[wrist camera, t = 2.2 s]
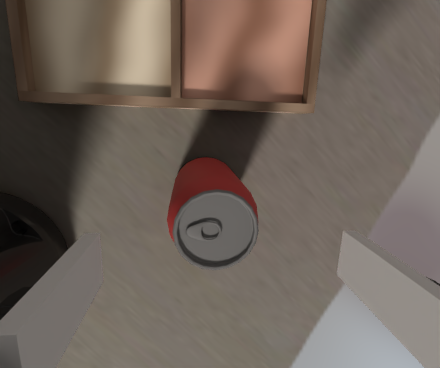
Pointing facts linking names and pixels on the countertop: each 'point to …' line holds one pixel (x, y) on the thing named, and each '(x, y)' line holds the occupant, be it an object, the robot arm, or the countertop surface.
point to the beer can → (212, 215)
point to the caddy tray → (169, 53)
